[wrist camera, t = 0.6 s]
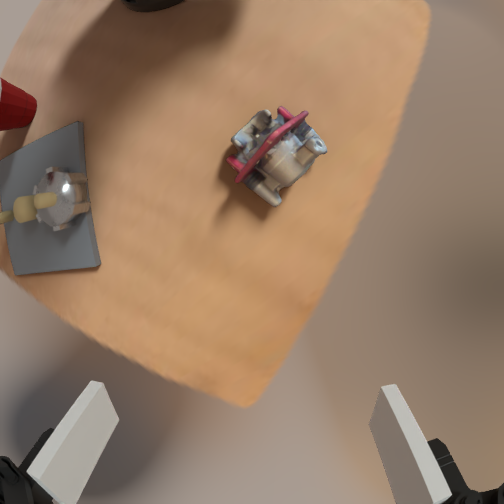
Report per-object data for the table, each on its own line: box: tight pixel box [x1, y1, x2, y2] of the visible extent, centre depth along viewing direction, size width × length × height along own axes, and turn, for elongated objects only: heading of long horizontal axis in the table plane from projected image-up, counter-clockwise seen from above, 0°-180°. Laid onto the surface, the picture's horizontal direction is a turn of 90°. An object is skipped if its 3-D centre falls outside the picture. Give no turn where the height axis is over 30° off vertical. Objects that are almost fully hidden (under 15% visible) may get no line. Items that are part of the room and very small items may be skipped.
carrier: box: [0, 121, 101, 275], centre depth 32 cm, size 22×22×8 cm
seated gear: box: [33, 167, 91, 231], centre depth 32 cm, size 9×8×4 cm
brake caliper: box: [226, 106, 327, 207], centre depth 30 cm, size 11×11×12 cm
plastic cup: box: [0, 78, 37, 131], centre depth 27 cm, size 11×11×12 cm
